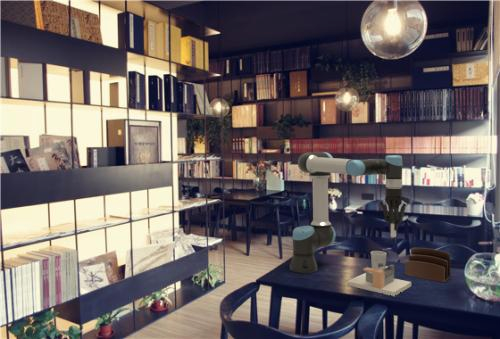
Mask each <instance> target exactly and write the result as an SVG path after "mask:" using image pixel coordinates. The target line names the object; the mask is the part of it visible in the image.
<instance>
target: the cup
mask: <svg viewBox="0 0 500 339" xmlns="http://www.w3.org/2000/svg"><path fill="white" fill-rule="evenodd" d="M387 255H388V254H387V252H385V251H382V250H372V251H370V257H371V258H370V259H371V261H370V262H371V268H373V269H374V268H378V263H383V265H384V266H387V264H386V263H387Z"/></svg>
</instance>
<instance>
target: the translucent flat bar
mask: <svg viewBox="0 0 500 339" xmlns="http://www.w3.org/2000/svg"><path fill="white" fill-rule="evenodd" d="M376 269H379V270H389V266H388V265H385V266H384V265H383V266H382V267H379V268H376ZM369 273H371V274H373V272H369Z"/></svg>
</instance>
